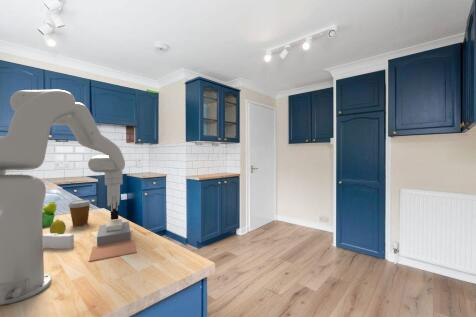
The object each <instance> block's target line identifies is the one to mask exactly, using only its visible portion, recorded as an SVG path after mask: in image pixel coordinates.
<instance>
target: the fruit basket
mask: <svg viewBox="0 0 476 317" xmlns="http://www.w3.org/2000/svg"><path fill="white" fill-rule="evenodd" d="M56 211H57V203H56V202H55V201H50V202H49V203H48V204H46V205H45V206H43V211H42V228H44V227H49V226H51V224H52V223H53V222H54V221H55V220H54V219H55V216H56V214H55V213H56Z"/></svg>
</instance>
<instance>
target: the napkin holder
mask: <svg viewBox="0 0 476 317" xmlns="http://www.w3.org/2000/svg"><path fill="white" fill-rule="evenodd" d="M74 236H75V235H74V233H64V234H58V233H54V234H51V233H45V234H43V249H49V248H51V249H52V250H55V249H56V250H59V249H71V248H73V247H74V246H75V237H74Z"/></svg>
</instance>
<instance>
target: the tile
mask: <svg viewBox="0 0 476 317" xmlns="http://www.w3.org/2000/svg"><path fill="white" fill-rule="evenodd" d="M122 222H123V219H122V218H121V219H119V218H118V219H114V220H111V219H110V220H107V221H106V224H105V225H106V231H113V230H119V229H122Z"/></svg>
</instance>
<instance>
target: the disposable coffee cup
mask: <svg viewBox="0 0 476 317" xmlns="http://www.w3.org/2000/svg"><path fill="white" fill-rule="evenodd" d="M67 206H68V207H69V212H70V217H71V222H72V226H73V227H81V226H85V225H88V223H89V216H90V207H91V201H90V200H89V199H78V200H72V201H70V202H69V204H68V205H67Z"/></svg>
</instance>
